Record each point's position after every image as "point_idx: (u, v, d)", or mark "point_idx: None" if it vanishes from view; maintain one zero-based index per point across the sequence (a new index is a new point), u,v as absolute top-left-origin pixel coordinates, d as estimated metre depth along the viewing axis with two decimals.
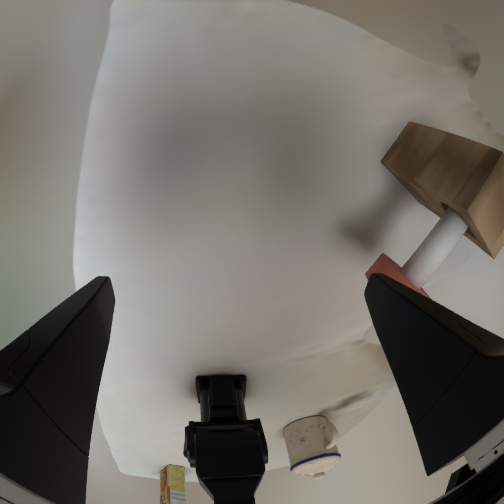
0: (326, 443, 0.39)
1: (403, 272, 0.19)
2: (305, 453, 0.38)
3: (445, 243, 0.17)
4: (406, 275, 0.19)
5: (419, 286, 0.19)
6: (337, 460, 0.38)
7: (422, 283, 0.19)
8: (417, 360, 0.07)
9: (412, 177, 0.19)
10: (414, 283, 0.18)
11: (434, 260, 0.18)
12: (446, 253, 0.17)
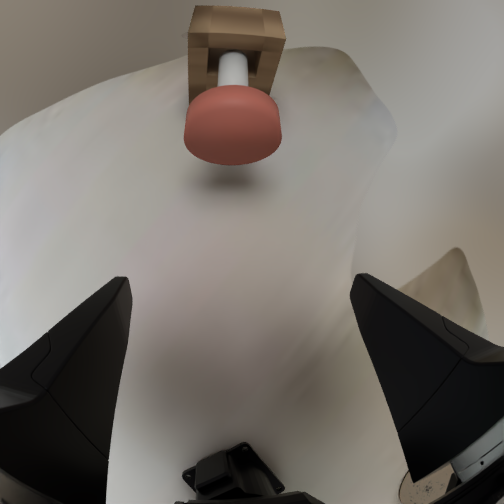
0: None
1: None
2: None
3: (226, 70, 0.17)
4: None
5: None
6: None
7: None
8: (401, 364, 0.07)
9: None
10: None
11: (228, 82, 0.17)
12: (236, 73, 0.17)
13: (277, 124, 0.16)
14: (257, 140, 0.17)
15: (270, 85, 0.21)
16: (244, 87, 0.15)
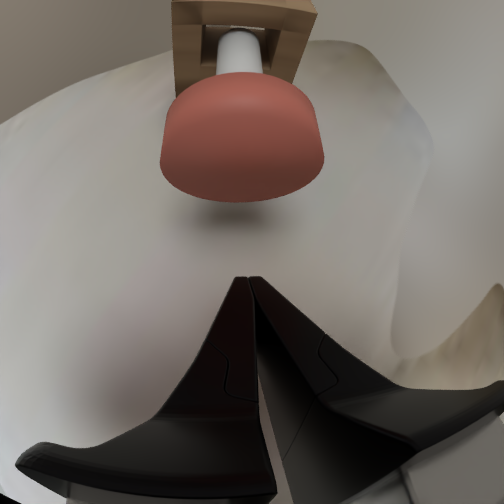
0: None
1: None
2: None
3: (229, 55, 0.11)
4: None
5: None
6: None
7: None
8: (274, 386, 0.06)
9: (175, 86, 0.15)
10: None
11: (232, 72, 0.10)
12: (245, 59, 0.11)
13: (320, 143, 0.09)
14: (283, 168, 0.10)
15: (290, 81, 0.15)
16: (263, 76, 0.08)
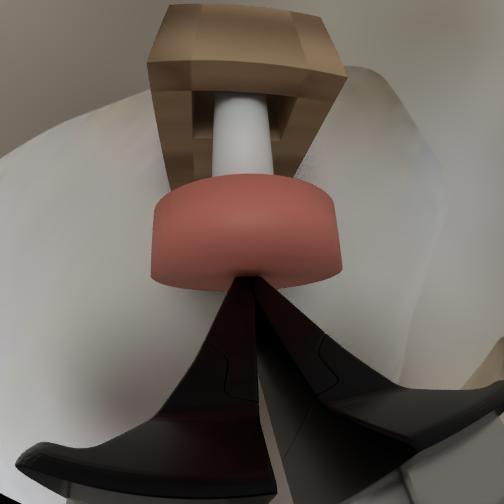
0: None
1: None
2: None
3: (228, 114, 0.10)
4: None
5: None
6: None
7: None
8: (275, 386, 0.06)
9: (164, 157, 0.13)
10: None
11: (233, 144, 0.09)
12: (248, 121, 0.10)
13: (340, 260, 0.08)
14: (293, 276, 0.09)
15: (303, 152, 0.14)
16: (275, 180, 0.07)
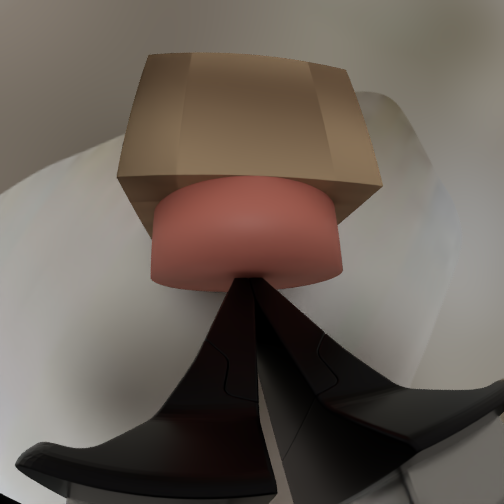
0: None
1: None
2: None
3: None
4: None
5: None
6: None
7: None
8: (275, 386, 0.06)
9: None
10: None
11: None
12: None
13: (340, 262, 0.08)
14: (294, 277, 0.09)
15: None
16: (275, 183, 0.07)
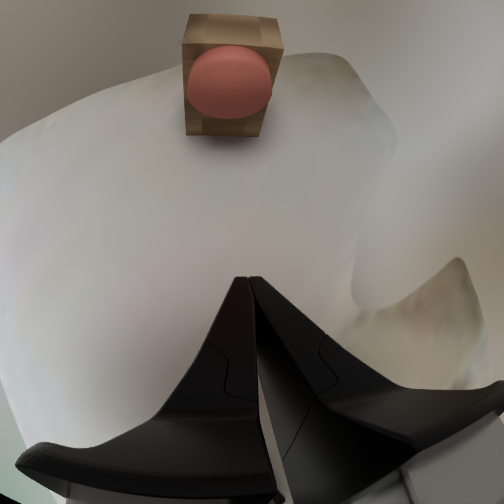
0: None
1: None
2: None
3: None
4: None
5: None
6: None
7: None
8: (275, 386, 0.06)
9: (184, 100, 0.21)
10: None
11: None
12: None
13: (267, 76, 0.17)
14: (251, 92, 0.18)
15: None
16: (239, 47, 0.16)
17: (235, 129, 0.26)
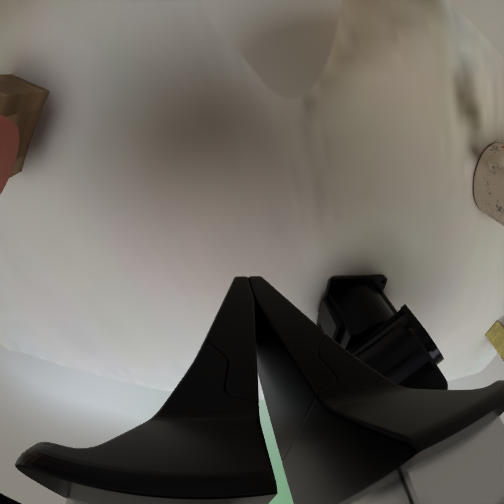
0: None
1: None
2: None
3: None
4: None
5: None
6: None
7: None
8: (274, 386, 0.06)
9: None
10: None
11: None
12: None
13: None
14: None
15: (4, 97, 0.10)
16: None
17: (31, 120, 0.15)
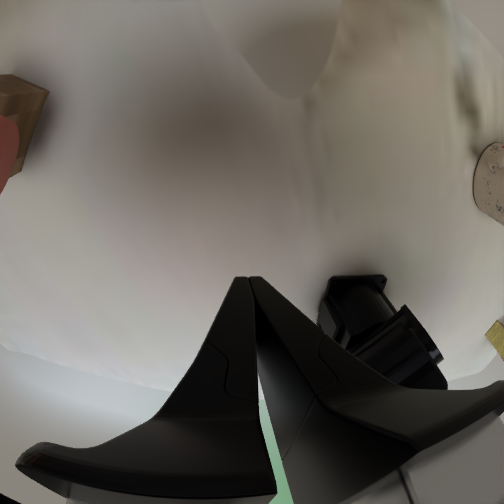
0: None
1: None
2: None
3: None
4: None
5: None
6: None
7: None
8: (274, 386, 0.06)
9: None
10: None
11: None
12: None
13: None
14: None
15: (4, 97, 0.10)
16: None
17: (31, 120, 0.15)
